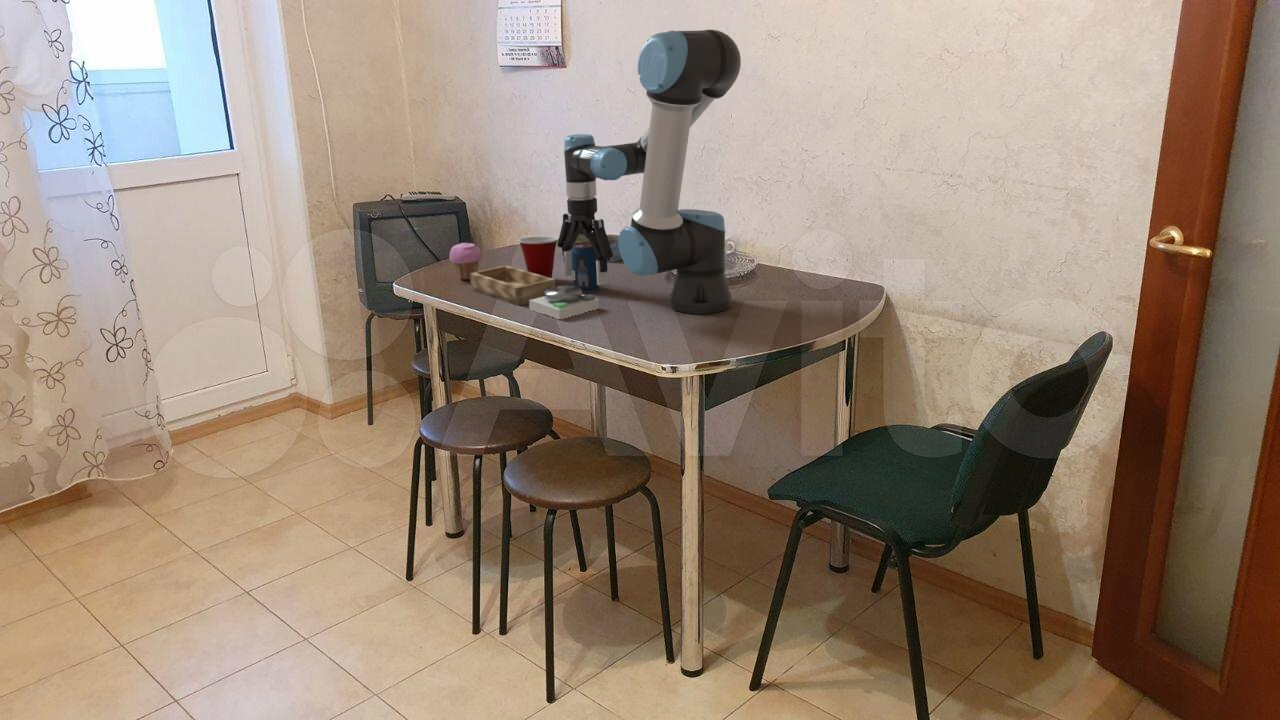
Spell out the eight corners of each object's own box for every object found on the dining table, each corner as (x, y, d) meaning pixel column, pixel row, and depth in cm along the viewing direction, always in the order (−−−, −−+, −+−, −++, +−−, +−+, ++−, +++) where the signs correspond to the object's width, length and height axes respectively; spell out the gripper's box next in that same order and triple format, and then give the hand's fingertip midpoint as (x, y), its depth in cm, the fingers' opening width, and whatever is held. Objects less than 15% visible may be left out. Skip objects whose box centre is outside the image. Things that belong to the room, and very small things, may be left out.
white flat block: (598, 309, 228) (598, 296, 226) (559, 320, 220) (558, 306, 219) (568, 299, 236) (567, 287, 235) (529, 310, 229) (528, 297, 227)
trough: (555, 296, 239) (554, 279, 238) (518, 305, 232) (517, 288, 231) (507, 281, 255) (506, 265, 253) (471, 289, 248) (469, 273, 246)
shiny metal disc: (589, 296, 227) (589, 290, 226) (559, 304, 221) (559, 298, 220) (566, 289, 233) (566, 283, 232) (537, 296, 227) (537, 291, 227)
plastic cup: (564, 275, 258) (561, 233, 254) (557, 286, 248) (554, 242, 244) (525, 276, 259) (522, 233, 255) (517, 286, 249) (513, 242, 245)
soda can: (594, 284, 249) (592, 240, 245) (603, 291, 243) (601, 245, 238) (569, 288, 246) (567, 243, 242) (578, 294, 240) (575, 248, 236)
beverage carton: (610, 264, 270) (609, 241, 268) (560, 256, 282) (559, 234, 279) (627, 258, 276) (626, 236, 274) (578, 250, 287) (576, 229, 285)
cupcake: (483, 281, 256) (480, 245, 252) (451, 283, 254) (447, 247, 251) (483, 273, 264) (480, 238, 260) (452, 275, 263) (448, 240, 259)
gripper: (625, 201, 230) (627, 285, 237) (564, 189, 247) (568, 268, 255) (601, 205, 225) (605, 291, 233) (541, 193, 243) (546, 273, 250)
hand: (585, 279), depth 244 cm, fingers open, 12 cm apart
